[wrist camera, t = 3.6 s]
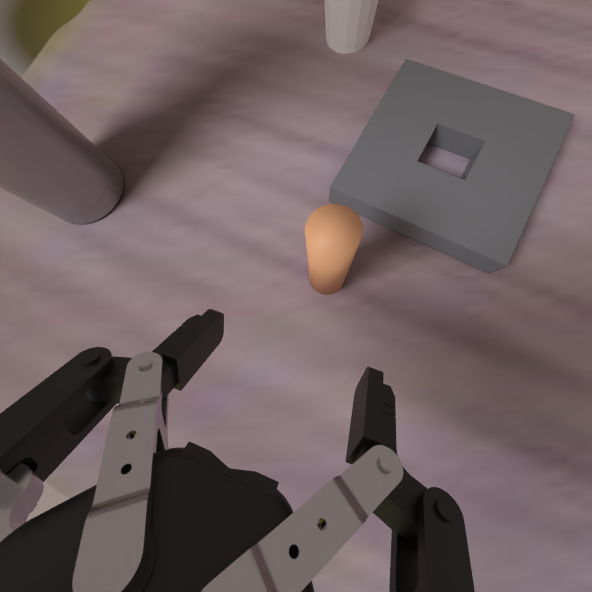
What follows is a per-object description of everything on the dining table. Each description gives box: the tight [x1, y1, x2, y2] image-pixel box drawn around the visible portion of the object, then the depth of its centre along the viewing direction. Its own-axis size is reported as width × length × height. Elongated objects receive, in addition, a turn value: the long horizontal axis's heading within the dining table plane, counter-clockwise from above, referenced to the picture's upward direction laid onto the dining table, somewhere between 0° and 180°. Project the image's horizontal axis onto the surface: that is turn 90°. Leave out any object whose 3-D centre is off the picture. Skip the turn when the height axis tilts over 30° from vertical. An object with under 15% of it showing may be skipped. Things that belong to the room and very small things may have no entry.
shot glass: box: [324, 0, 379, 54], centre depth 29 cm, size 7×7×7 cm
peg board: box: [329, 59, 575, 274], centre depth 27 cm, size 18×18×2 cm
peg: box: [305, 204, 363, 295], centre depth 21 cm, size 4×4×11 cm
